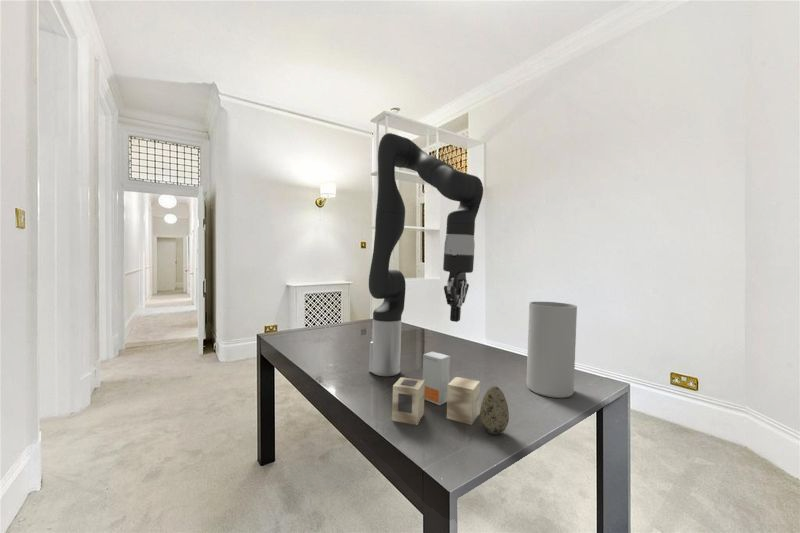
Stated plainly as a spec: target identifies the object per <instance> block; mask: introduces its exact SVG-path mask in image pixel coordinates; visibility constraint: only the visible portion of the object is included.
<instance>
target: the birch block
mask: <svg viewBox="0 0 800 533" xmlns="http://www.w3.org/2000/svg"><path fill="white" fill-rule="evenodd" d="M480 386H481V381H479V380H475V379H470V378H466V377H465V378H464V377H460V376H459V377H458V376H455V377H454V378H453V379H452V380H451V381H449V384H448V390H447V402H446V419H447V420H448V419H449V420H451V421H455V422H459V423H464V424H467V425H471V426H472V425H473V424H474V422H476V421H475V420H476V419H477V418H478V416H480V389H481V388H480Z"/></svg>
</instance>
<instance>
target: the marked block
mask: <svg viewBox="0 0 800 533" xmlns="http://www.w3.org/2000/svg"><path fill="white" fill-rule="evenodd" d="M424 389H425V380H422V379H417V378H410V377H401V376H400V378H398V380H396V382H395V383H394V384H393V385H392V406H391V407H392V408H391V410H392V411H391V413H392V414H391V421H392V422H397V423H403V424H404V423H405V424H408V425H414V424H415V425H414V426H418V425H419V424H420V421H421V420H420V419H422V418H423V416H424V414H425V399H424ZM421 417H422V418H421Z"/></svg>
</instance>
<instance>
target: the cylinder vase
mask: <svg viewBox="0 0 800 533" xmlns="http://www.w3.org/2000/svg"><path fill="white" fill-rule="evenodd" d="M577 313H578V305H576V304H571V303H566V302H565V303H563V302H556V301H530V302H529V305H528V331H527V332H528V333H527V334H528V335H527V358H526V360H527V361H526V386H527V388H528V389H529V390H530V391H531V392H533V393H535V394H537V395H540V396H543V397H548V398H554V399H557V398H558V399H564V398H565V399H566V398H569V397H571V396H573V395H574V393H575V392H574V391H575V367H576V366H575V365H576V363H575V362H576V343H577V342H576V341H577V340H576V339H577V315H578V314H577Z"/></svg>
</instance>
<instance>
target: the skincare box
mask: <svg viewBox="0 0 800 533" xmlns="http://www.w3.org/2000/svg"><path fill="white" fill-rule="evenodd" d="M422 360H423V361H422V379H421V380H425V389H424V401H427V402H431V403H433V404H435V405H437V406H441V405H443V404H447V390H448V384H449V383H450V376H451V375H450V374H451V373H450V370H451V356H450V355H446V354H443V353H440V352H435V351H430V352H427V353H426V352H425V353H423V356H422Z"/></svg>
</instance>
